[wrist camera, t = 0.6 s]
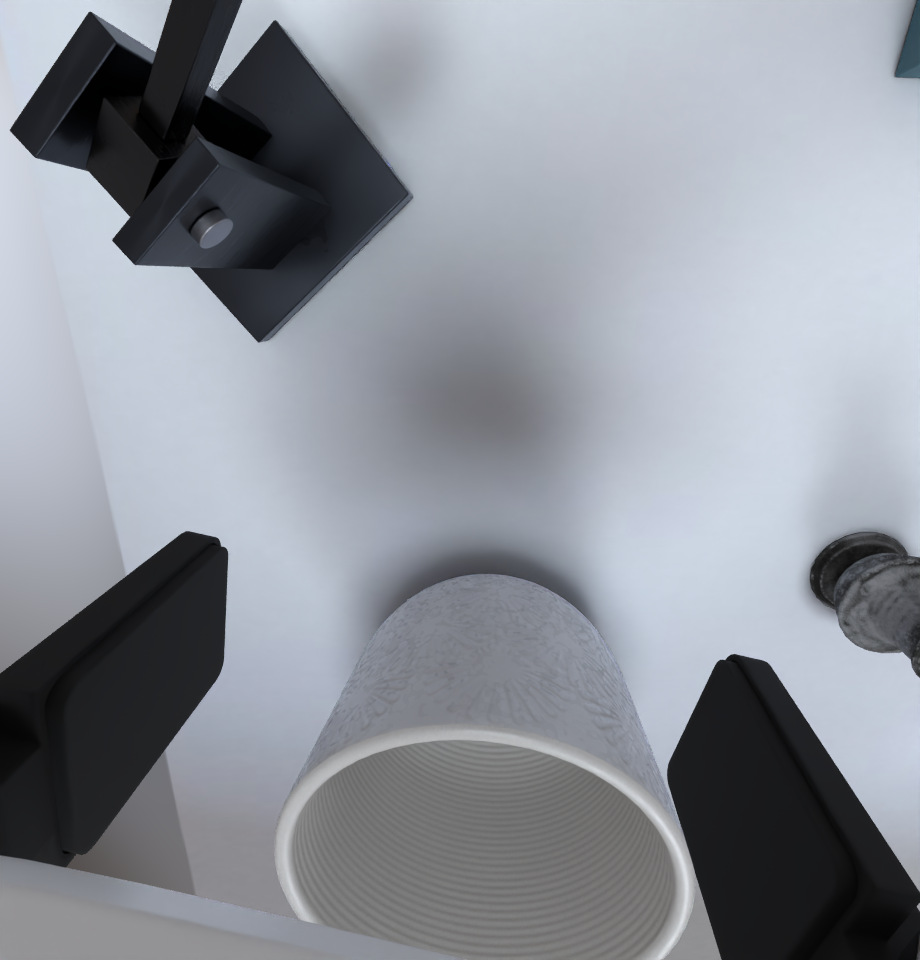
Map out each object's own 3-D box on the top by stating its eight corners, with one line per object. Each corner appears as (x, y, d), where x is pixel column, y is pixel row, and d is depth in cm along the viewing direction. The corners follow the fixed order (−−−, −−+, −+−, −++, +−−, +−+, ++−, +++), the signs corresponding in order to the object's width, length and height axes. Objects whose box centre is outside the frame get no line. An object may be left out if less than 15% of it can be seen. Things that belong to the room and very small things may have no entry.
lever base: (285, 30, 24) (99, -173, 13) (413, 197, 26) (342, 139, 15) (144, 203, 28) (-99, 154, 17) (267, 341, 30) (123, 378, 19)
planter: (398, 750, 40) (335, 1013, 25) (338, 550, 34) (212, 745, 20) (632, 733, 37) (706, 1016, 23) (608, 514, 31) (686, 708, 17)
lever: (313, -372, 11) (172, -509, 8) (428, -193, 12) (332, -267, 9) (144, 139, 20) (49, 151, 17) (216, 222, 20) (136, 245, 18)
